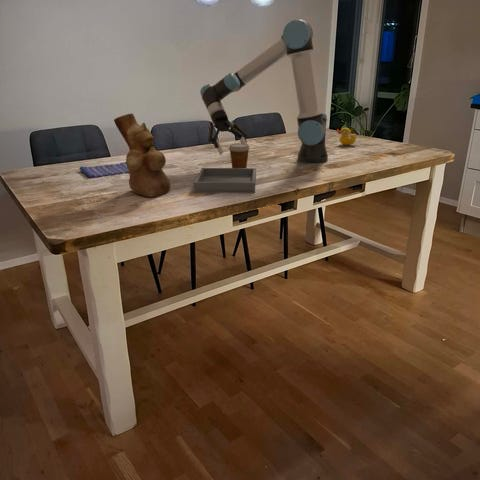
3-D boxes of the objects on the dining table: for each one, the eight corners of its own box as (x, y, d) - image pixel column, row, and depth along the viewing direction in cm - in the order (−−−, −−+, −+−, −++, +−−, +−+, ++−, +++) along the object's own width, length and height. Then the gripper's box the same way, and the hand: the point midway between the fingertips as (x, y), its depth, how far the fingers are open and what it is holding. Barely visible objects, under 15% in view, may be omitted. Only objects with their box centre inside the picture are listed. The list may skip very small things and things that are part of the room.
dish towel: (78, 171, 215) (78, 166, 214) (127, 165, 226) (127, 159, 225) (88, 180, 202) (87, 173, 200) (139, 172, 213) (139, 166, 212)
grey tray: (256, 177, 202) (256, 168, 200) (254, 192, 180) (254, 183, 178) (202, 176, 203) (201, 167, 202) (194, 192, 181) (193, 182, 179)
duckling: (334, 144, 268) (335, 127, 264) (337, 143, 272) (338, 126, 268) (353, 146, 263) (355, 128, 259) (356, 144, 267) (357, 127, 263)
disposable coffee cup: (225, 172, 210) (225, 146, 205) (233, 167, 218) (233, 142, 214) (245, 174, 207) (245, 147, 202) (252, 169, 215) (252, 143, 210)
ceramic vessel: (152, 200, 171) (145, 118, 160) (111, 192, 182) (101, 114, 171) (178, 190, 184) (174, 113, 172) (138, 182, 195) (131, 110, 183)
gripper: (237, 117, 226) (253, 153, 220) (191, 121, 214) (207, 159, 208) (243, 107, 220) (260, 143, 214) (196, 111, 208) (213, 149, 202)
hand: (234, 151), depth 211 cm, fingers open, 13 cm apart
